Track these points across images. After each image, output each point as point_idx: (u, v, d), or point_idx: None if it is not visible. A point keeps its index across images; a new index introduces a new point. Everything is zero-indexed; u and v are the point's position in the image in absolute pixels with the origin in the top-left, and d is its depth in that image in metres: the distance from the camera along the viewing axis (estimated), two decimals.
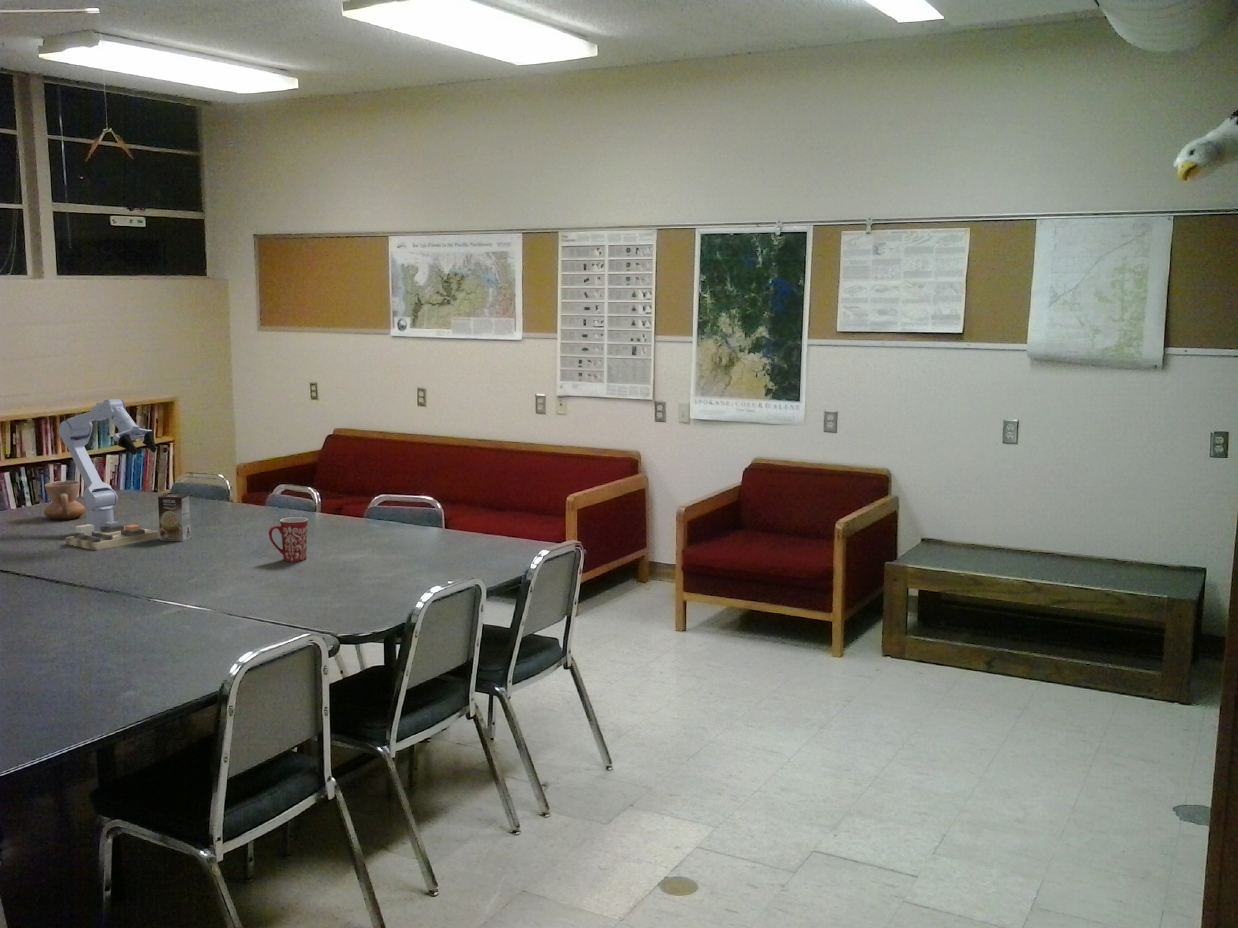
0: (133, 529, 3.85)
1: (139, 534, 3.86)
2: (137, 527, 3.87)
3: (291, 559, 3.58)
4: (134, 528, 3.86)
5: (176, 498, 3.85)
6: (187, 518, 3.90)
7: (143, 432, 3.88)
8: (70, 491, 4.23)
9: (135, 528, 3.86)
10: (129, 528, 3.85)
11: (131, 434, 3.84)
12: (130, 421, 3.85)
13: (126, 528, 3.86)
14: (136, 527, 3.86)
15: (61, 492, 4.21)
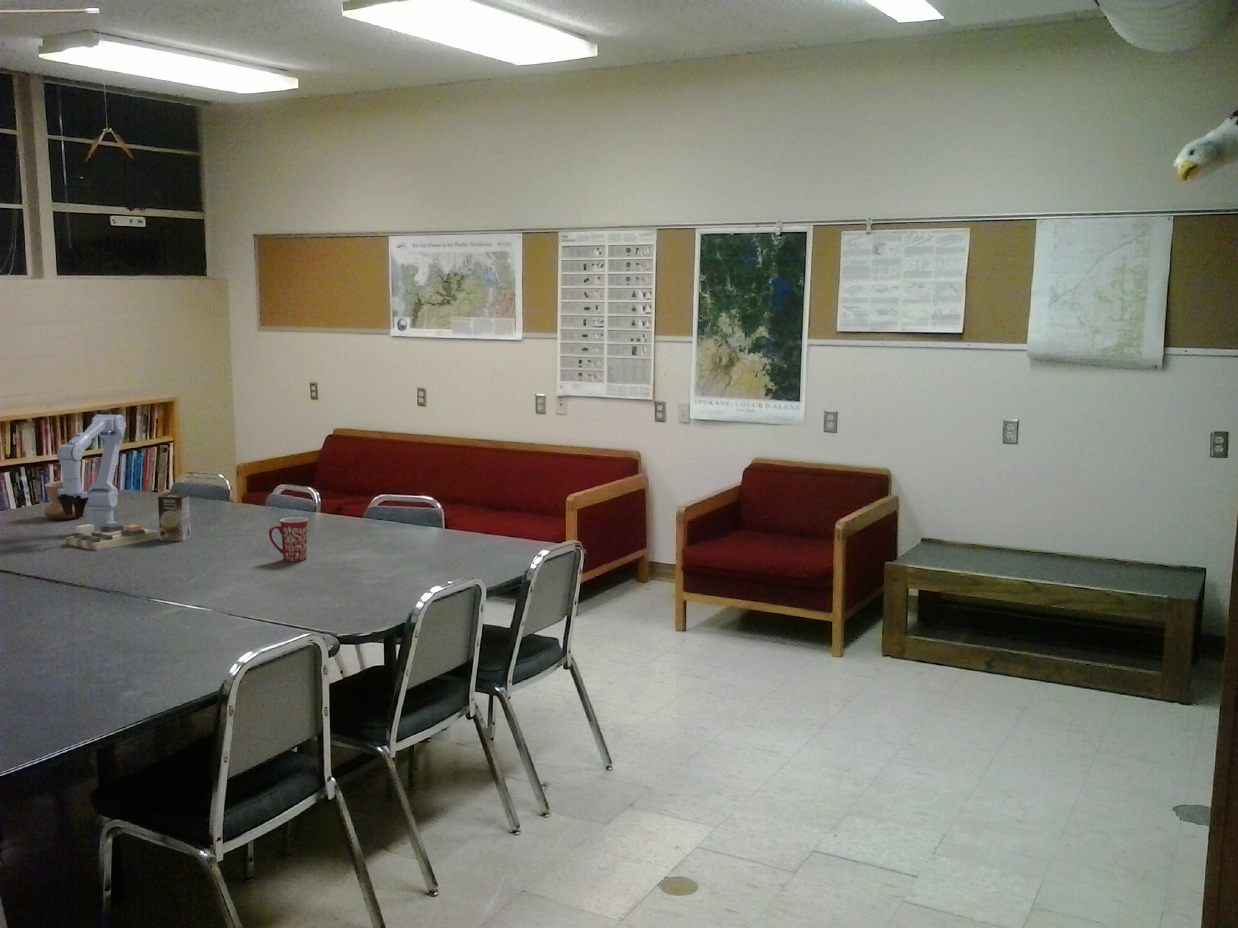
0: (133, 529, 3.85)
1: (139, 534, 3.86)
2: (137, 527, 3.87)
3: (291, 559, 3.58)
4: (134, 528, 3.86)
5: (176, 498, 3.85)
6: (187, 518, 3.90)
7: None
8: None
9: (135, 528, 3.86)
10: (129, 528, 3.85)
11: None
12: (64, 482, 3.80)
13: (126, 528, 3.86)
14: (136, 527, 3.86)
15: None
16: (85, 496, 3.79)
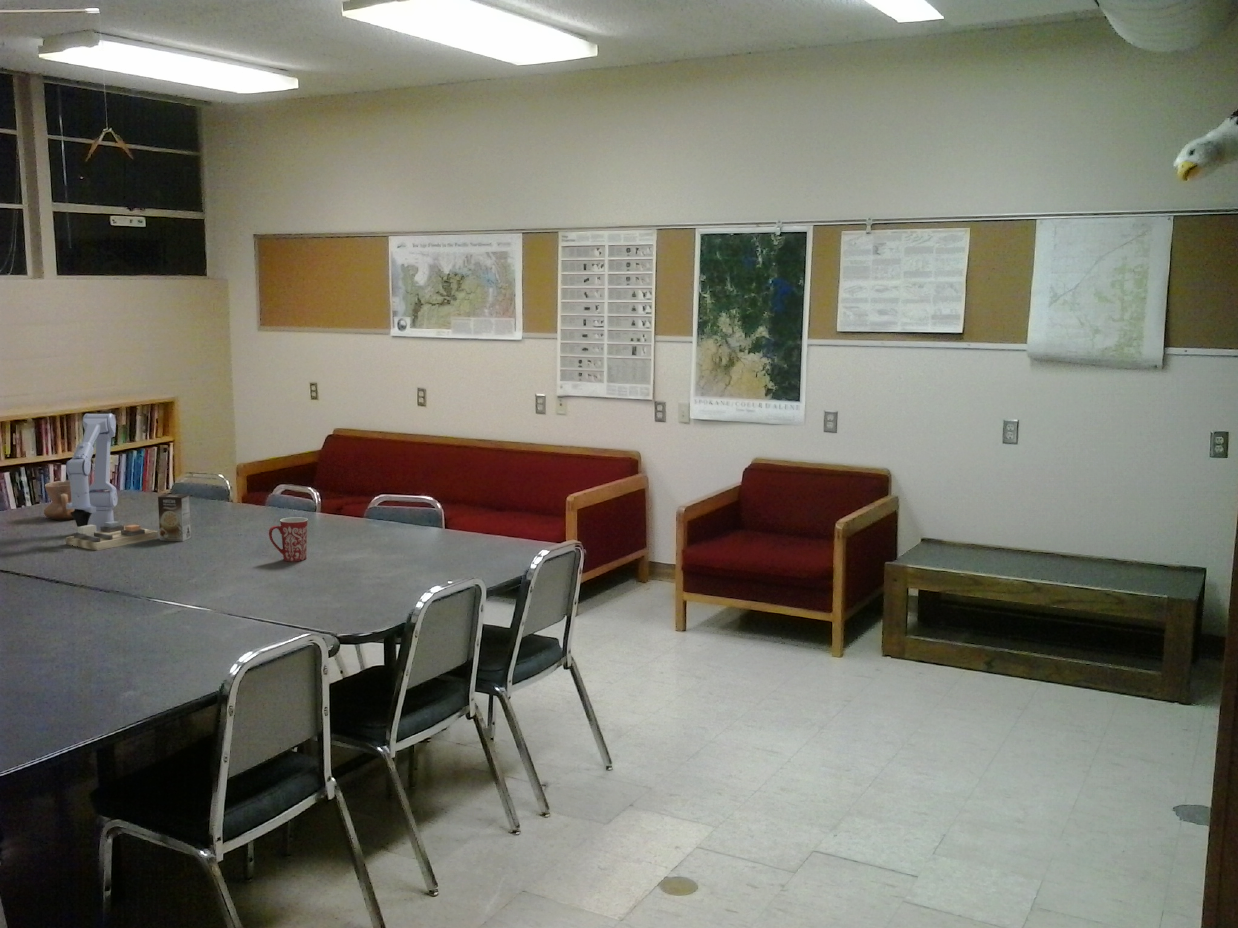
0: (133, 529, 3.85)
1: (139, 534, 3.86)
2: (137, 527, 3.87)
3: (291, 559, 3.58)
4: (134, 528, 3.86)
5: (176, 498, 3.85)
6: (187, 518, 3.90)
7: (85, 508, 3.79)
8: (70, 491, 4.23)
9: (135, 528, 3.86)
10: (129, 528, 3.85)
11: None
12: (72, 497, 3.78)
13: (126, 528, 3.86)
14: (136, 527, 3.86)
15: (61, 492, 4.21)
16: (94, 511, 3.78)
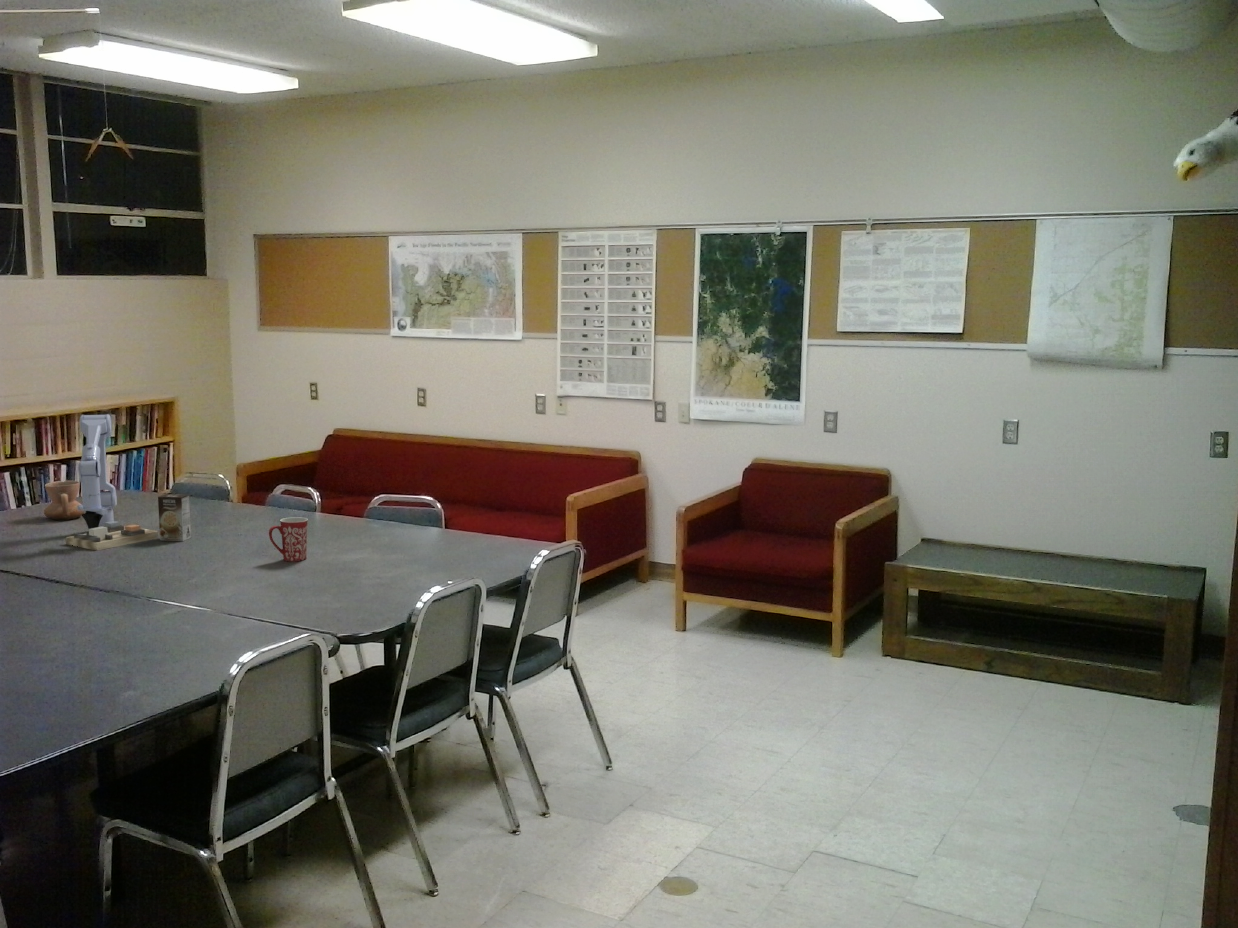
0: (133, 529, 3.85)
1: (139, 534, 3.86)
2: (137, 527, 3.87)
3: (291, 559, 3.58)
4: (134, 528, 3.86)
5: (176, 498, 3.85)
6: (187, 518, 3.90)
7: (96, 510, 3.75)
8: (70, 491, 4.23)
9: (135, 528, 3.86)
10: (129, 528, 3.85)
11: None
12: (83, 498, 3.75)
13: (126, 528, 3.86)
14: (136, 527, 3.86)
15: (61, 492, 4.21)
16: (105, 513, 3.75)
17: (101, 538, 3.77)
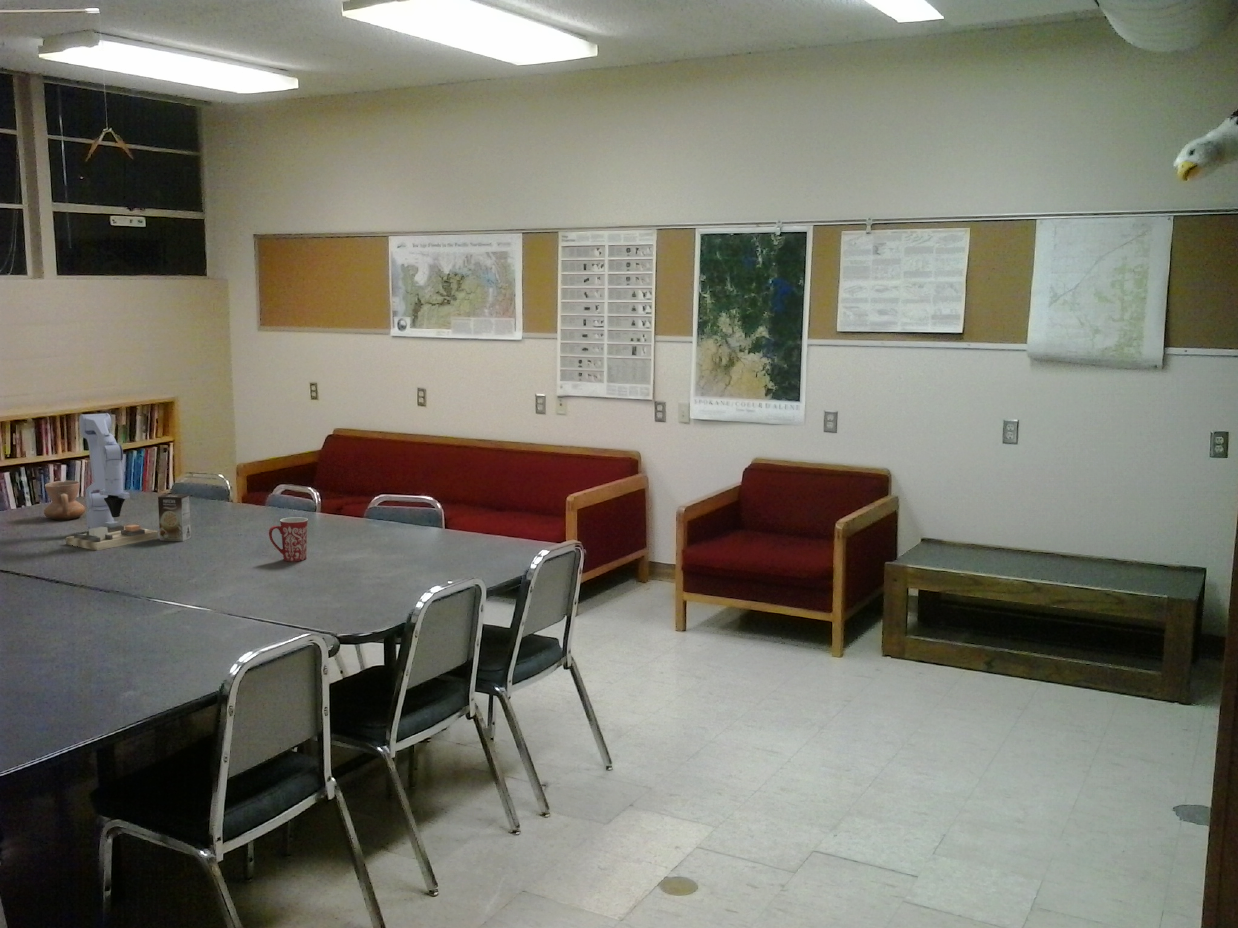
0: (133, 529, 3.85)
1: (139, 534, 3.86)
2: (137, 527, 3.87)
3: (291, 559, 3.58)
4: (134, 528, 3.86)
5: (176, 498, 3.85)
6: (187, 518, 3.90)
7: (118, 494, 3.79)
8: (70, 491, 4.23)
9: (135, 528, 3.86)
10: (129, 528, 3.85)
11: None
12: (106, 483, 3.79)
13: (126, 528, 3.86)
14: (136, 527, 3.86)
15: (61, 492, 4.21)
16: (127, 497, 3.78)
17: (101, 538, 3.77)
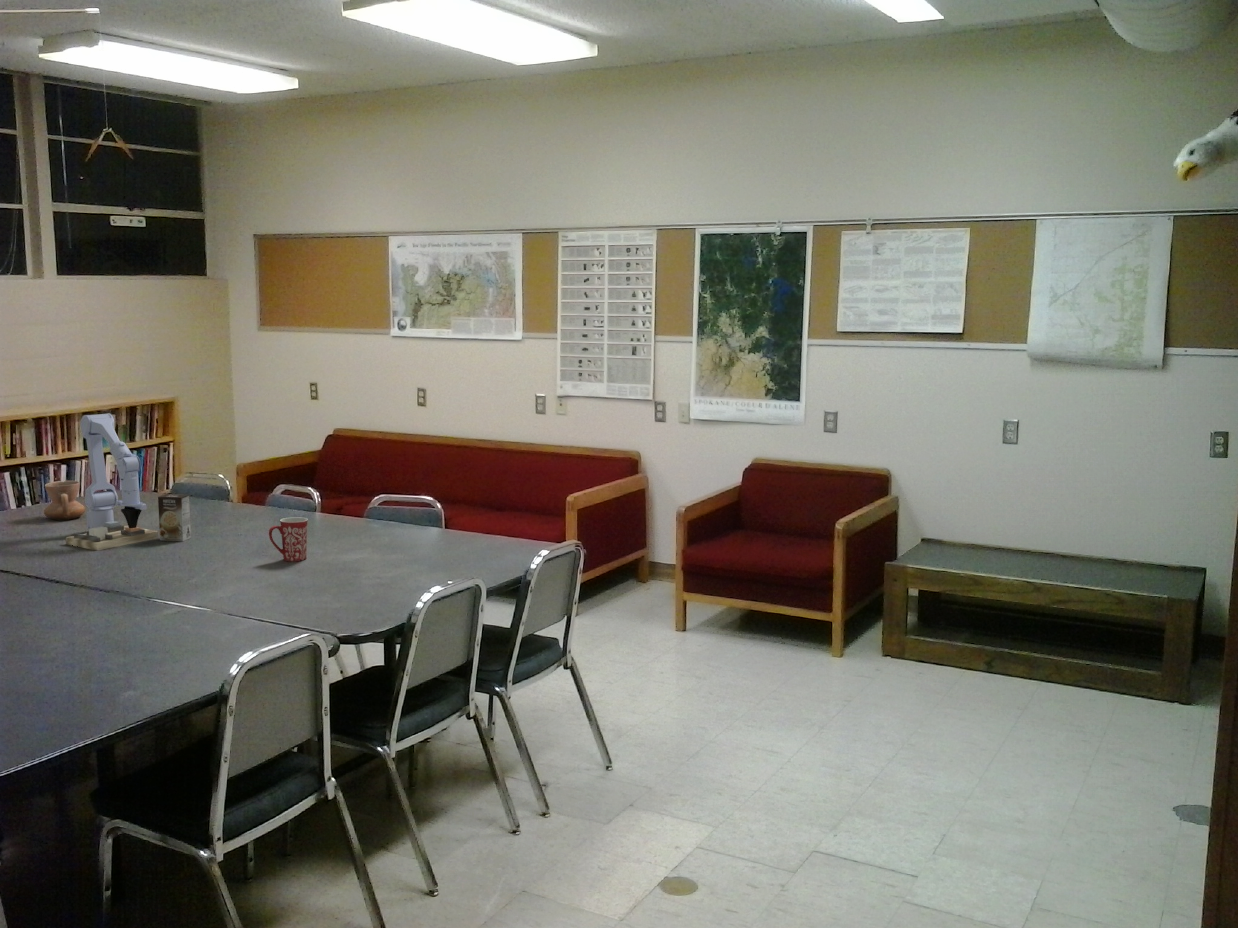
0: None
1: (139, 534, 3.86)
2: (137, 529, 3.87)
3: (291, 559, 3.58)
4: (134, 530, 3.86)
5: (176, 498, 3.85)
6: (187, 518, 3.90)
7: None
8: (70, 491, 4.23)
9: (135, 530, 3.86)
10: (129, 530, 3.85)
11: None
12: (123, 494, 3.83)
13: (126, 530, 3.86)
14: (136, 529, 3.86)
15: (61, 492, 4.21)
16: (144, 508, 3.82)
17: (101, 538, 3.77)
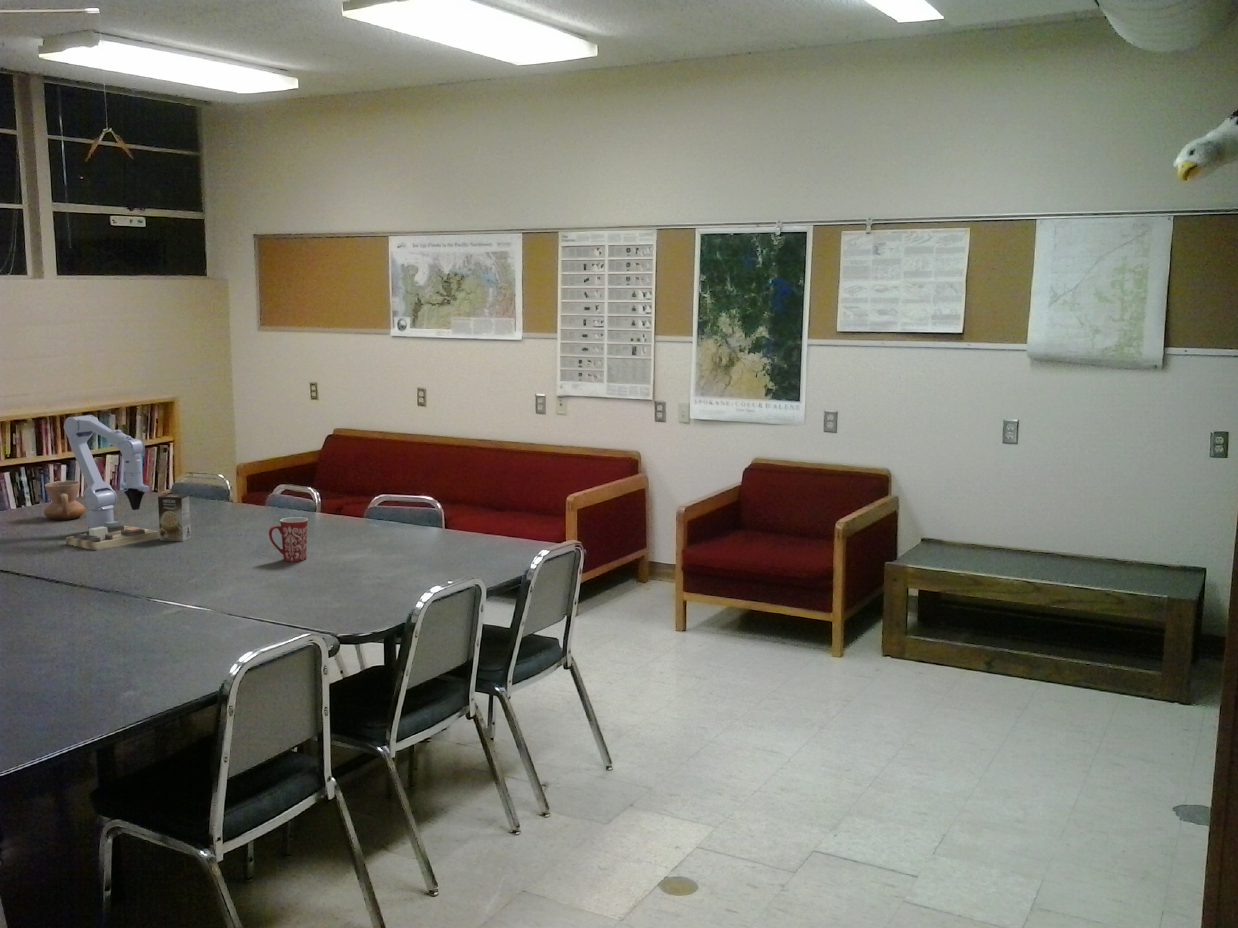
0: None
1: (139, 534, 3.86)
2: (137, 530, 3.87)
3: (291, 559, 3.58)
4: None
5: (176, 498, 3.85)
6: (187, 518, 3.90)
7: None
8: (70, 491, 4.23)
9: None
10: (129, 531, 3.85)
11: None
12: (126, 476, 3.90)
13: None
14: (136, 530, 3.86)
15: (61, 492, 4.21)
16: (147, 490, 3.89)
17: (101, 538, 3.77)
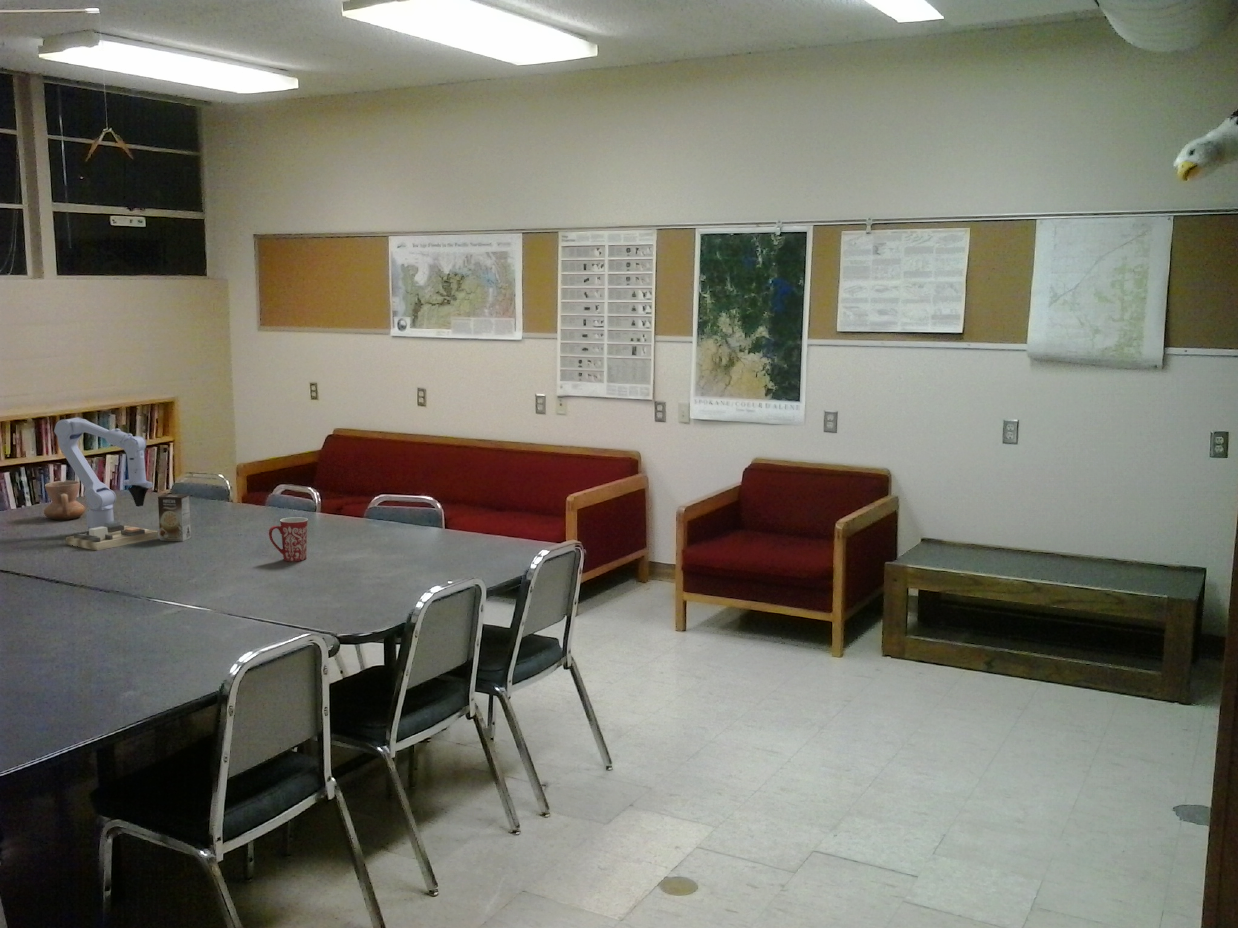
0: None
1: (139, 534, 3.86)
2: (137, 530, 3.87)
3: (291, 559, 3.58)
4: None
5: (176, 498, 3.85)
6: (187, 518, 3.90)
7: (142, 484, 3.95)
8: (70, 491, 4.23)
9: None
10: (129, 531, 3.85)
11: None
12: (130, 473, 3.94)
13: None
14: (136, 530, 3.86)
15: (61, 492, 4.21)
16: (150, 486, 3.94)
17: (101, 538, 3.77)
